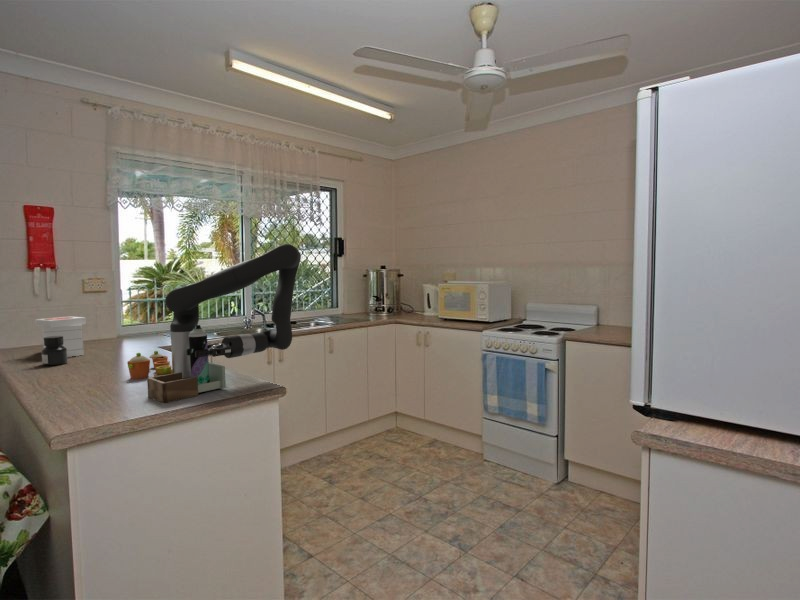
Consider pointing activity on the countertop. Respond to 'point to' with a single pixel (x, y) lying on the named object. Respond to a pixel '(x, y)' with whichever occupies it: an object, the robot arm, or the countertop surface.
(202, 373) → the spray can
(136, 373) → the toy tea set
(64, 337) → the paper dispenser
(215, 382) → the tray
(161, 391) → the frame
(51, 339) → the ink bottle
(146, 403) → the countertop surface
